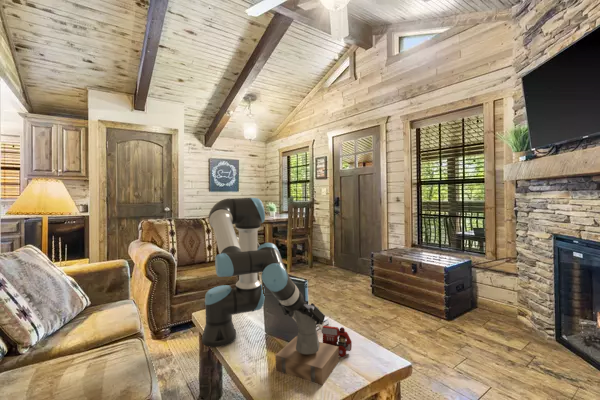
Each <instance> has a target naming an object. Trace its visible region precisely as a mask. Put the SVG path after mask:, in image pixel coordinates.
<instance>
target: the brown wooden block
mask: <svg viewBox="0 0 600 400" xmlns="http://www.w3.org/2000/svg"><path fill="white" fill-rule="evenodd" d="M297 336H298V335H296V336H295V337H293V338H292V339H291V340H290V341H289V342H288V343H287V344H286V345H284V347H283V348H282V349H280V350H279V351H278V352H277V353H276V354H275V357H274V358H275V360H274V361H275V371H276V372H278V373H281V374H285V375H286V376H287V375H288V376H291V377H294V378H296V379H300V380H304V381H306V382H309V383H313V384H315V385H319V386H323V385H324V384H325V382H326V381H327V380H328V378H329V376H330V375H331V374H332V372H333V371H334V369H335V368H336V366H337V365H338V363H339V361H340V360H339V359H340V356H339V347H338V346H334V345H330V344H326V343H323V341H322V342H321V341H319V345H320V346H319V351H317V352H316V353H314V354H301V353H299V352H298V351H297V350H296V344H297Z"/></svg>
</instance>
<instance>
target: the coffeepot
mask: <svg viewBox="0 0 600 400" xmlns="http://www.w3.org/2000/svg"><path fill="white" fill-rule="evenodd" d="M304 302H306V303H307V305H309V301H308V300H305V301H304ZM315 307H316V308H317V309H319V307H318V306H317V305H315ZM319 310H320V309H319ZM312 316H313V315H312ZM295 317H296V321H295V323H296V322H297V323H296V326H297V328H298V331H297V335H296V336H297V344H296V350H297V351H298V352H299V353H301V354H314V353H316V352H317V351H319V346H320V345H319V342H320V340H319V336H318V331H317V327H318V326H317V324H316V323H315V320H313V319H312V317H311V318H310V317H309V316H308V315H306V314H302V313H300V312H298V311H295Z"/></svg>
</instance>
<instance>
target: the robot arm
mask: <svg viewBox="0 0 600 400" xmlns="http://www.w3.org/2000/svg"><path fill="white" fill-rule="evenodd" d="M265 212H266V211H265V207H264V203H263V202H262V200H261V199H260V198H258V197H237V198H236V197H235V198H224V199H221V200H219V201H218V202H217V203H215V204H214V205H213V206H212V208H211V209H210V211H209V214H208V222H209V225H210V227H211V228H213V233H214V237H215V240H216V247H217V249H218V250H217V251H218V253H219V254H216V255H215V258H214V260H215V261H214V263H215V265H214V267H215V273H216V276H217V277H220V278H224V277H225V278H226V277H227V278H228V277H236V276H238V280H237V281H236V283H235V287H233V288H232V287H231V285H228V284H227V285H226V284H225V285H223V284H222V285H218V286H214V287H212V288H210V289H208V290H207V291H206V293H205V296H204V305H205V307H204V308H205V326H204V330H203V333H202V336H201V342H202V344H203V345H204V346H205V347H210V348H219V347H224V346H227V345H229V344H232V343H233V342H234V341H235V340H236V339H237V330H236V328H235V325H234V323H233V315H238V314H246V313H250V312H251V313H253V312H256V311H259V310H261V309H263V306H264V304H265V297H266V296H264V294H263V290H262V285H263V284H264V286H265V288H267V289H268V290H269V291H270V292H271V294H272V295H273V297H275V298H276V299H277V301H278V306H280V308H281V310H282V312H283V315H286V316H289V317H291V318H292V319H293V321H294V322H295V323H296V324H297V322H296V317H295V311H298V312H300V313H302V314H306V315H308V316H309V317H310V318H311V317H312V319H313V320H315V323H316V324H317V326H316V327H318V329H320V330H321V331H322V328H323V326H325V325H324V324H325V322H324V321H325V317H326V315H325V314H324V313H323V312H322V311H321V310H320V309H317V308H316V307H317V306H316V304H315V303H313V302H311V303H310V304H308V305H307V303H306V302H304V300H305V299H304V296H303V293H301V291H300V290H299V288H298V286H297V285H296V284H295V282H293V280H292V278H291V277H290V275H289V273H288V270H287V268H286V266H285V264H284V262H283V258H282V256H281V253H280V251H279V249H278V247H277V245H276V244H274V243H273V242H264V243H263V244H260V245H259V246H258V231H259V230H260V229H261V227H262V225H261V224H263V223H264V222H265V220H266V213H265ZM234 225H235V226H234ZM234 227H235V228H234ZM235 229H236V230H237V231H238V237H237V233H236V230H235ZM259 273H262V274H261V279H262V282H263V284H261V281H260V280H259V279H258V274H259ZM315 306H316V307H315ZM312 315H313V316H312Z"/></svg>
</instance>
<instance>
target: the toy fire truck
mask: <svg viewBox="0 0 600 400" xmlns="http://www.w3.org/2000/svg"><path fill="white" fill-rule="evenodd" d="M321 334H322V343H326V344H330V345H334V346H338V347H339V358H344V357H345V356H346V355H347V352H351V351H352V339H351V338H350V336H349V335H350V334H349V333H348V332H347V331H346V329H345V328H344V327H340V328H339V327H337V326H330V325H323V328H322V330H321Z"/></svg>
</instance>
